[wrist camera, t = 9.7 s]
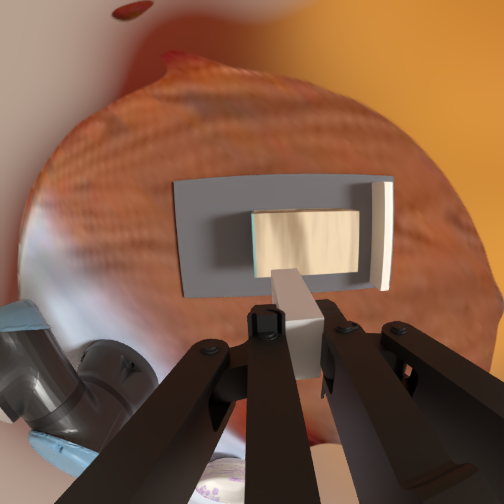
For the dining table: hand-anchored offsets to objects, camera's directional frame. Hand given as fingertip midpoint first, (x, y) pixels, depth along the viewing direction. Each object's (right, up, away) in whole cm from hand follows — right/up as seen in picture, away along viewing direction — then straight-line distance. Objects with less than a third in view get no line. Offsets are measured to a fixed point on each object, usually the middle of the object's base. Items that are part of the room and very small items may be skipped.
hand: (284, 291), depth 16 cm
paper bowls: (-6, -46, +31) cm, 56 cm away
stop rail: (+15, +5, +19) cm, 25 cm away
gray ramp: (+3, +4, +20) cm, 21 cm away
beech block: (-2, +4, +17) cm, 17 cm away
